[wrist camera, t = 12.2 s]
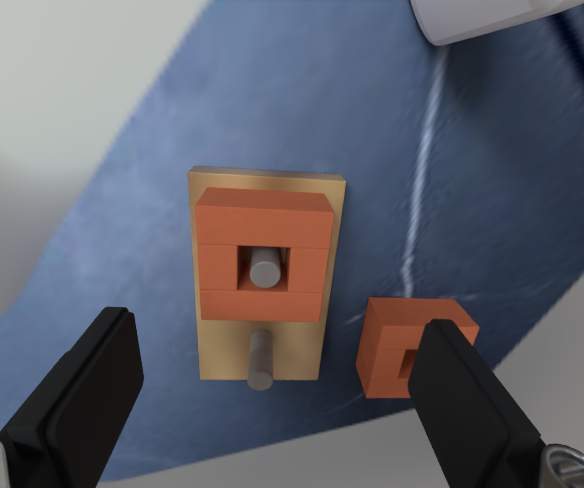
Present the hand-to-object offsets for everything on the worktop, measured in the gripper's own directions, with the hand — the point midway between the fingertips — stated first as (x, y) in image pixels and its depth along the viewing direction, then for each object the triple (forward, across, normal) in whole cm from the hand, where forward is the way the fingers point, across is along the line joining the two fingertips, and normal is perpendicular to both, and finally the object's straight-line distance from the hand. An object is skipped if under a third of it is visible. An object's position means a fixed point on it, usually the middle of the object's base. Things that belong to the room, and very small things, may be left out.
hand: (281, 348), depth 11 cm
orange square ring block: (+10, -9, +7) cm, 15 cm away
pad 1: (+8, +1, 0) cm, 8 cm away
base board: (+10, +1, +3) cm, 10 cm away
